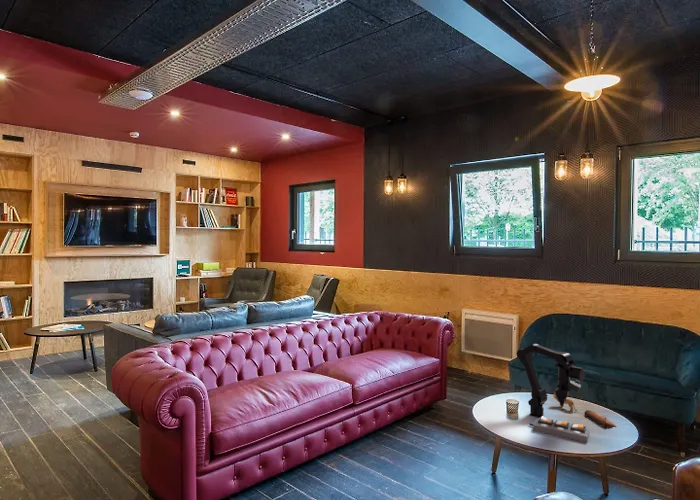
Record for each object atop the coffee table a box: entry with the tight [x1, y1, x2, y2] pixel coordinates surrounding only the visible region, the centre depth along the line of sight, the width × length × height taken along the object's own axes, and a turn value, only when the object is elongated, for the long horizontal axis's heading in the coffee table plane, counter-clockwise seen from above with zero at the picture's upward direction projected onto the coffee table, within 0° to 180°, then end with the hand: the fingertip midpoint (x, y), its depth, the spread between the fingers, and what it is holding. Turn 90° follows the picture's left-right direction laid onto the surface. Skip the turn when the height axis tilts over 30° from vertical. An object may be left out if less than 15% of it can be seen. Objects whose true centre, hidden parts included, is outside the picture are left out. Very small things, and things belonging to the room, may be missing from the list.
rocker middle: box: [556, 420, 568, 426], centre depth 243 cm, size 5×4×1 cm
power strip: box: [529, 417, 590, 443], centre depth 242 cm, size 29×10×4 cm, turn 56°
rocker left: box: [539, 415, 553, 423], centre depth 247 cm, size 5×4×1 cm
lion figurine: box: [553, 391, 578, 413], centre depth 274 cm, size 15×5×9 cm, turn 38°
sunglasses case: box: [584, 409, 617, 429], centre depth 256 cm, size 18×7×7 cm
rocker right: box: [572, 423, 585, 429], centre depth 238 cm, size 5×4×1 cm
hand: (563, 403), depth 251 cm, fingers open, 9 cm apart
